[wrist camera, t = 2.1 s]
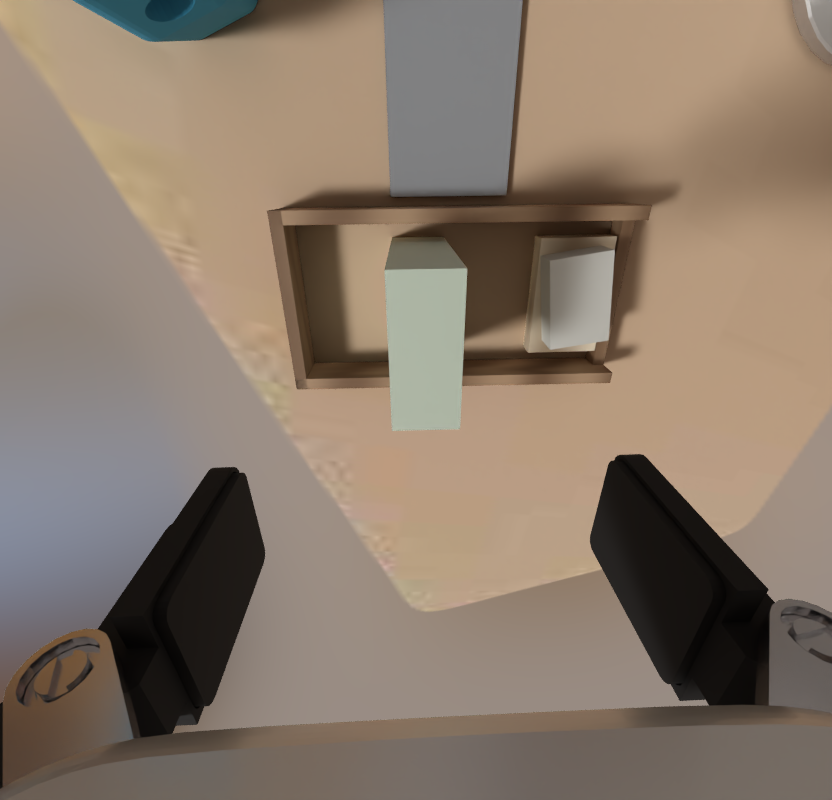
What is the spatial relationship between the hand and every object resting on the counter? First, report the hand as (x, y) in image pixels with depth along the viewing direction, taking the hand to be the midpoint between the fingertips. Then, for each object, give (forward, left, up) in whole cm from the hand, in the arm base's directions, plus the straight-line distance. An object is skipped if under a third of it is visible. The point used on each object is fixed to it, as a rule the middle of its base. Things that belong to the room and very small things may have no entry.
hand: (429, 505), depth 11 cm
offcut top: (-11, -1, -20) cm, 23 cm away
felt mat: (-2, -12, -22) cm, 25 cm away
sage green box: (0, 0, -22) cm, 22 cm away
